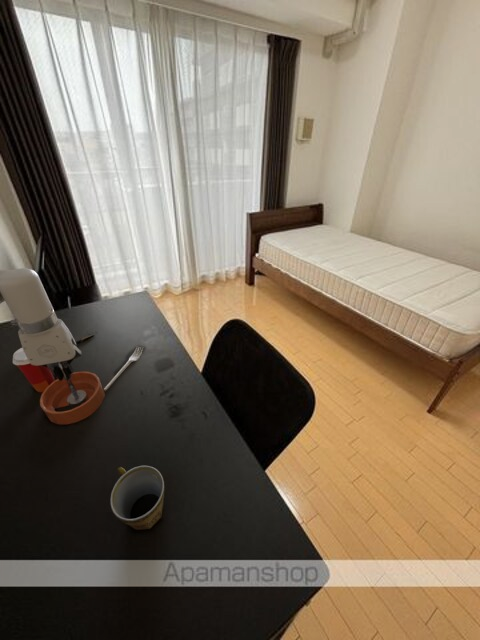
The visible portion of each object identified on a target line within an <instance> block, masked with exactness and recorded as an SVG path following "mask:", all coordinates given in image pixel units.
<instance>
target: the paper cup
mask: <svg viewBox="0 0 480 640" xmlns="http://www.w3.org/2000/svg"><path fill="white" fill-rule="evenodd" d="M12 364H13V365H15V366H17V368H18V369H19V370H20V371H21V374H23V376H24V378H26V380H27V381H28V382H29V384H30V385H31V386H32V388H33V389H34V390H35V391H36V392H38V393H43V392H44V391H45V389H46V388H47V387H48V386H49V385H50V384H51V383H53V382H54V381H55V380H56V379H55V377H54V376H55V375H54V373H53V371H52V370H50V369H49V368H48V367H45V366H42V365H38V366H36V365H32V364H30V362H29V361H28V359H27V357H26V355H25V352H24V350H23V348H22V347H20V348H19V349H17V350H16V351H15V352H14V353H13V355H12Z"/></svg>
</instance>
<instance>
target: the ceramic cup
mask: <svg viewBox="0 0 480 640" xmlns="http://www.w3.org/2000/svg"><path fill="white" fill-rule="evenodd" d="M117 472H118V475H119V476H120V477H119V478H118V479H117V481H116V482H115V484H114V486H113V488H112V490H111V493H110V498H109V506H110V510H111V512H112V513H113V515H114V516H115V517H116V518H117V519H118V520H119V521H120V522H122V523H124V524H126V525H128V526H129V527H131V528H133V529H134V530H136V531H138V530H139V531H140V530H150V529H151V528H152V527H153V526H154V525H155V524H156V523H157V522H158V521H160V519H161V518H162V516H163V509H164V499H165V481H164V477H163V475H162V474H161V473H162V472H160V471H159V469H157V468H155V467H153V466H151V465H139V466H135V467H133V468H131V469H129V470H125V468H123V467H122V466H119V467H117ZM146 495H155V496H156V497H158V500H157V501H156V503H155V504H154V506H153V507H152V508H151V509H150V510H149V511H147V512H146V513H145V514H143V515H141V516H139V517H136V518H131V513H132V509H133V506H134V504H135V503H136V502H137V501H138V500H139V499H140V498H142V497H143V496H146Z"/></svg>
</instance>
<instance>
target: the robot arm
mask: <svg viewBox="0 0 480 640" xmlns="http://www.w3.org/2000/svg"><path fill="white" fill-rule="evenodd" d="M4 302H5V303H6V305H7V307H8V309H9V310H10V312H11V315H12V317H13V318H14V319H11V320H10V325H11V326H12V327H14V326H15V327H18V329H19V330H18V332H17V333H18V334H17V335H18V337H19V341H20V345H21V348H23V350H24V352H25V355H26V357H27V359H28V361H29V362H30V364H32V365H36V366H38V365H42V366H45V367H48V368H49V369H50V370H51V371H52V373H53V375H54V376H55V377H57V379H59V381H61V380H63V375H62V373H61V371H60V369H59V367H58V365H57V362H62V364H63V368H62V370H63V372H64V374H65V376H66V378H67V379H70V378H71V374H73V373H74V368H73V366H72V364H71V363H72V362H73V361H74V360H76V359H77V358H78V359H79V358H80V357H81V356H82V354H83V353H82V350H81V349H80V348H78V344H77V345H76V342H77V341H76V340H75V338H74V337H73V334H72V333H71V331H70V329H69V328H68V326H67V325H66V324H65V322H64V321H63V320H62V319H61V318H58V317H57V314H56V311H55V310H54V307H53V304H52V303H51V301H50V299H49V296H48V294H47V292H46V290H45V288H44V285H43V283H42V280H41V278H40V276H39V274H38V273H37V272H36V271H35V270H33V269H31V268H26V267H22V268H14V269H10V270H7V269H0V304H2V303H4Z"/></svg>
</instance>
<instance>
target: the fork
mask: <svg viewBox="0 0 480 640" xmlns="http://www.w3.org/2000/svg"><path fill="white" fill-rule="evenodd" d="M143 350H144V347H139V346H138V345H137V346H136V348H135V349H134V351H133V352H132V354H131V355H130V357H129V358H128V360H127V361H126V363H125V364H124V365H123V366H122V367H121V368H120V369H119V371H118V372H117V373H116V374H115V376H113V378H112V379H111V380H110V381H109V383H108V384H106V386H104V388H103V390H104V392H106V391H107V390H108V389H109V388H110V387H111V386H112V385H113V384H114V382H116V380H117V379H118V378H119V377H120V376H121V375H122V373H123V372H124V371H125V370H126V369H127V368H128V367H129V365H130V364H131V363H132V362H138V361H139V360H140V359H141V356H142V353H143Z"/></svg>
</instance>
